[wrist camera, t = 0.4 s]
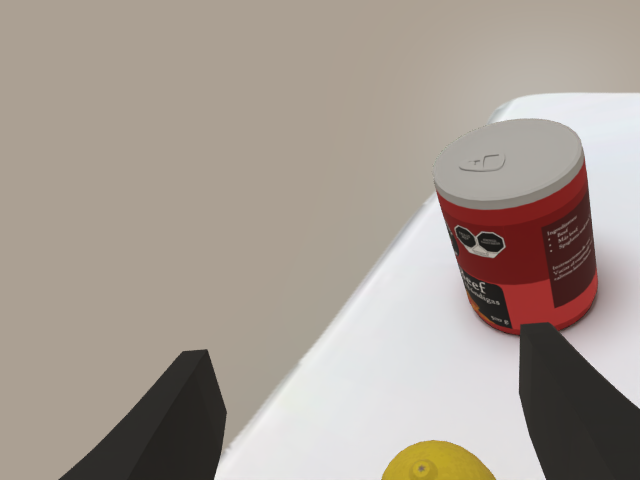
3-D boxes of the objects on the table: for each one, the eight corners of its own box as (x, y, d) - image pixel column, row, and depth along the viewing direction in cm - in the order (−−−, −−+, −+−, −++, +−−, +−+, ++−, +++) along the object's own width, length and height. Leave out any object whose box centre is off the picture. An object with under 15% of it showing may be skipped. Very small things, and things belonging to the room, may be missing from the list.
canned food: (462, 268, 43) (424, 141, 36) (578, 241, 41) (560, 101, 34) (480, 351, 37) (438, 216, 30) (617, 324, 35) (603, 174, 29)
